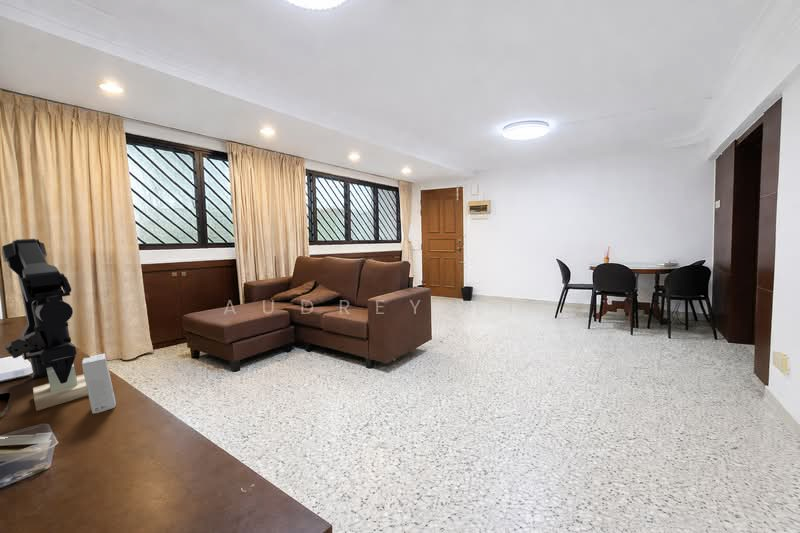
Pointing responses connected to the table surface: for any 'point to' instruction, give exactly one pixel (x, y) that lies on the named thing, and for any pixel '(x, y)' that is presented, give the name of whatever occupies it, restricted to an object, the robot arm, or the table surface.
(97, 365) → the skincare box
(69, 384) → the sage cube
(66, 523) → the table surface
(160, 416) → the table surface
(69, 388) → the maple plinth
